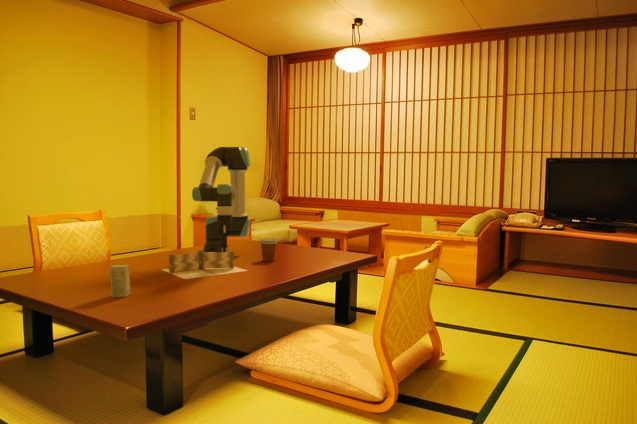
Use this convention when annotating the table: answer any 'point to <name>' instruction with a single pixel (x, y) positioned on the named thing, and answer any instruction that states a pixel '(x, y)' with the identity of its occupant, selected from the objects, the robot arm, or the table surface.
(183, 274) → the card
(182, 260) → the fence fixed
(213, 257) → the fence flap
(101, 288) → the table surface
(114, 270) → the skincare box
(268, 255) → the disposable coffee cup
